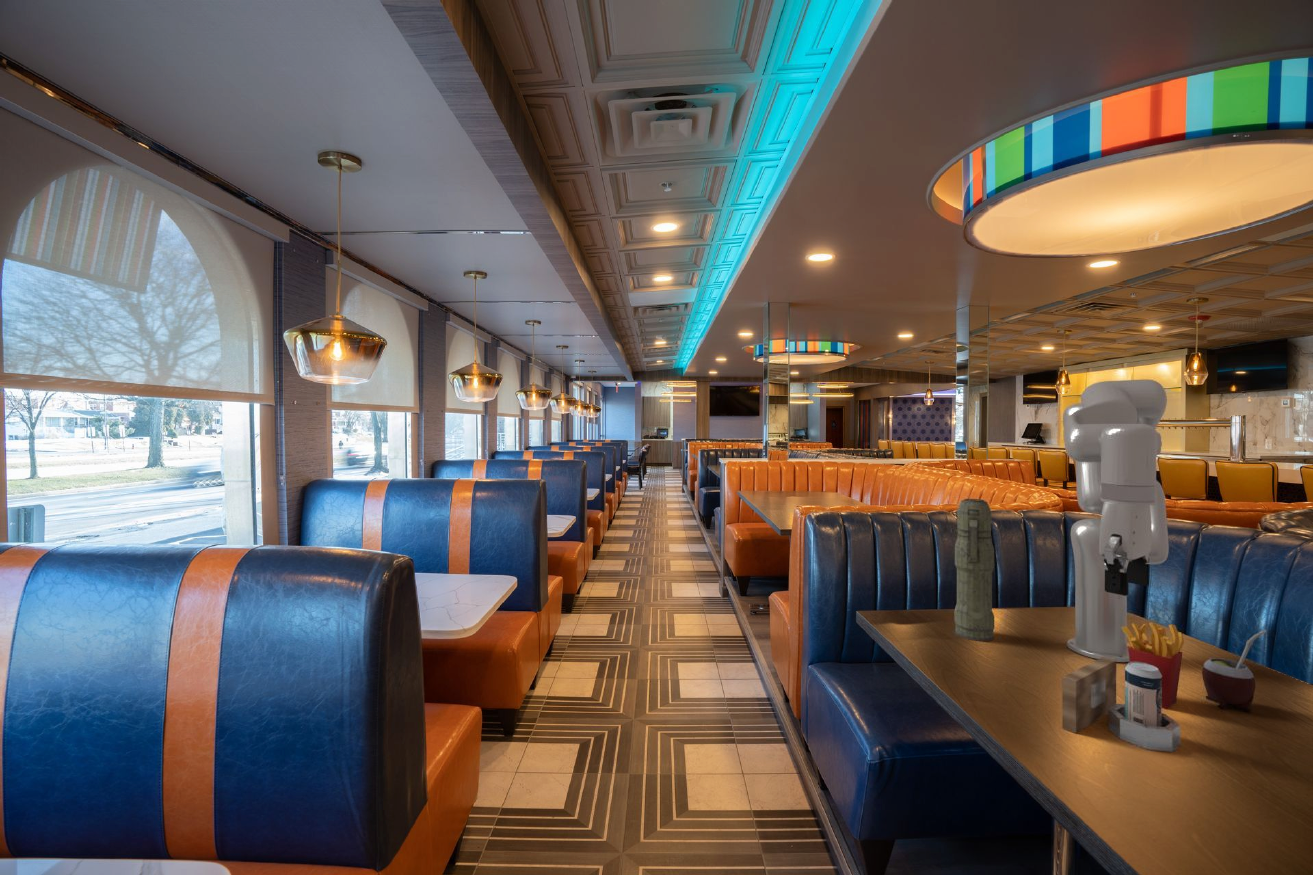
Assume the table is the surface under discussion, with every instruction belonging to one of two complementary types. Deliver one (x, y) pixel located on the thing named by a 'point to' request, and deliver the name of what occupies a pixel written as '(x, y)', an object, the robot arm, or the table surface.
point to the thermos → (974, 571)
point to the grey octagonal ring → (1144, 731)
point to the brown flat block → (1088, 694)
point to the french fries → (1159, 656)
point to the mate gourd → (1230, 681)
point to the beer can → (1143, 694)
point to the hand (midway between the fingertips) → (1127, 588)
